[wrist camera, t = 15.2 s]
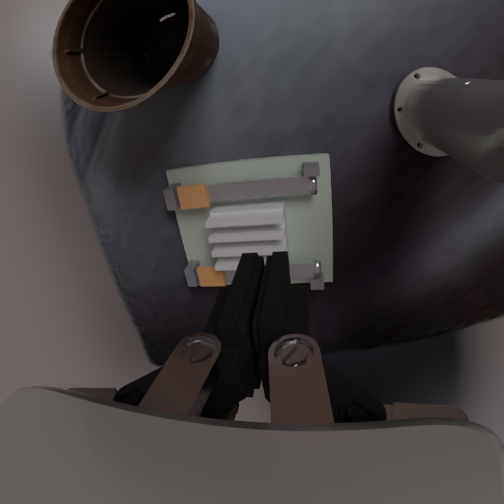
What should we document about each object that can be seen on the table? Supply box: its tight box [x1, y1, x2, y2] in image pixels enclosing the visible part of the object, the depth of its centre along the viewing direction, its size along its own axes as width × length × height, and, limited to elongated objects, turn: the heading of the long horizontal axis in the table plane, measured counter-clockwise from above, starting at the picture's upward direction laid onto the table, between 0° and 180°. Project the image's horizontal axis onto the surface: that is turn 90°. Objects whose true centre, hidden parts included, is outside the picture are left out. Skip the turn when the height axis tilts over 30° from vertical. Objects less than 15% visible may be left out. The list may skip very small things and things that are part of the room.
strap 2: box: [196, 260, 321, 287], centre depth 47 cm, size 19×3×2 cm, turn 97°
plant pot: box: [53, 0, 219, 112], centre depth 27 cm, size 16×16×16 cm
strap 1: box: [176, 175, 318, 210], centre depth 41 cm, size 19×3×2 cm, turn 97°
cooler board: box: [163, 153, 333, 290], centre depth 44 cm, size 23×20×6 cm
